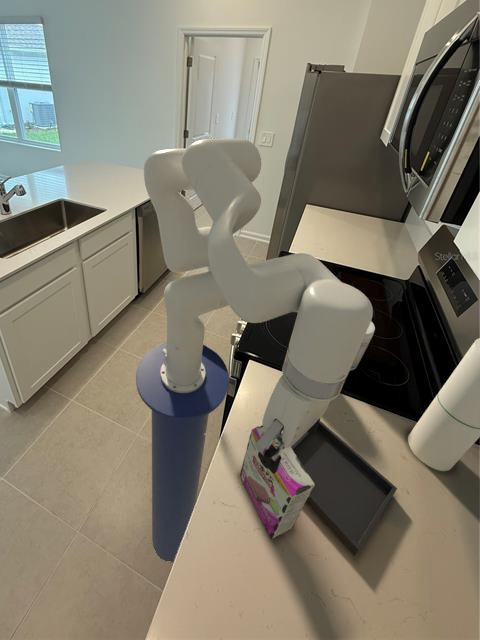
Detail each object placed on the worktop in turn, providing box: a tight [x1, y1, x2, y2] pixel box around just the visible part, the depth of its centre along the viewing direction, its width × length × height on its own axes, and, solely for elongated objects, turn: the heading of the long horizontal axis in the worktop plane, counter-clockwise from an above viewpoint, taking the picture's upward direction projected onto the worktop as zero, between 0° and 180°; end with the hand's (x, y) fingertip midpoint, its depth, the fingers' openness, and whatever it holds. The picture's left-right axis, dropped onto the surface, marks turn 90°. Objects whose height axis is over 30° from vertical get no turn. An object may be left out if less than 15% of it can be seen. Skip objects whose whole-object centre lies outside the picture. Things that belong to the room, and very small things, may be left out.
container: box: [407, 337, 480, 472], centre depth 62 cm, size 9×9×30 cm
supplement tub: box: [349, 320, 376, 372], centre depth 87 cm, size 10×10×15 cm
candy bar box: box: [239, 424, 315, 540], centre depth 54 cm, size 11×5×16 cm, turn 23°
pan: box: [291, 420, 398, 557], centre depth 62 cm, size 17×15×3 cm
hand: (286, 444), depth 49 cm, fingers open, 9 cm apart
